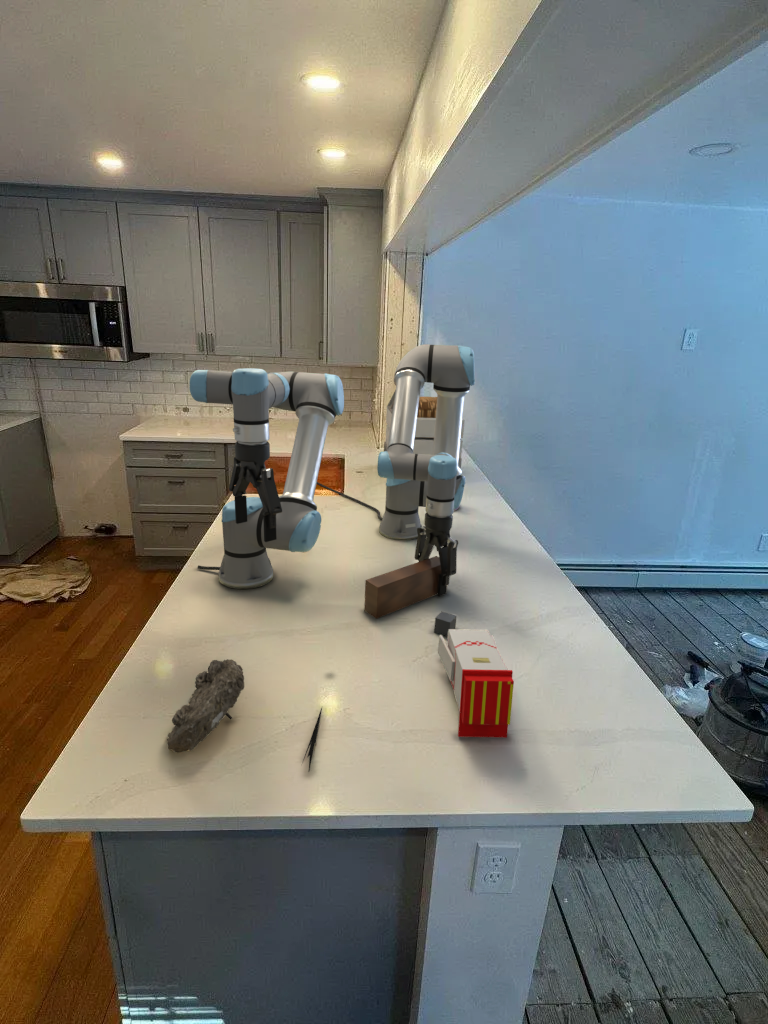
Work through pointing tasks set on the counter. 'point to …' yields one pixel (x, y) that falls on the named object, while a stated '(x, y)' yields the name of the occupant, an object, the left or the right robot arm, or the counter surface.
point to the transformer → (422, 426)
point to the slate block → (444, 623)
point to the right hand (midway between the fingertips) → (432, 589)
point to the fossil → (206, 705)
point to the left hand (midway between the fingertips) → (255, 531)
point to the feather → (313, 740)
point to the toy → (478, 682)
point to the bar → (402, 587)
